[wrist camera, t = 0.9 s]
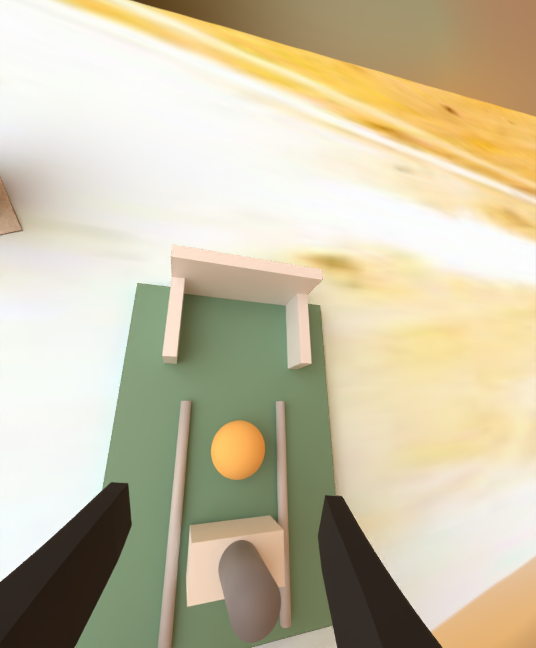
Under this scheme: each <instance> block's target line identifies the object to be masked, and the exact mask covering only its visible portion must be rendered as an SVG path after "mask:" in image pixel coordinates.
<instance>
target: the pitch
mask: <svg viewBox="0 0 536 648" xmlns="http://www.w3.org/2000/svg"><path fill="white" fill-rule="evenodd" d="M170 288H171V287H166V286H158V285H149V284H141V283H137V289H136V294H135V300H134V306H133V312H132V318H131V324H130V330H129V336H128V342H127V347H126V353H125V359H124V365H123V371H122V377H121V383H120V389H119V395H118V400H117V406H116V412H115V418H114V424H113V430H112V436H111V442H110V448H109V453H108V459H107V465H106V471H105V477H104V483H103V489H104V488H105V487H106V486H107V485H108V484H110V483H111V482H118V483H128V485H129V497H130V509H131V521H132V526H131V529H130V532H129V534H128V537H127V540H126V542H125V545H124V547H123V550H122V552H121V555H120V557H119V560H118V562H117V564H116V566H115V568H114V570H113V572H112V574H111V576H110V578H109V580H108V582H107V584H106V586H105V588H104V590H103V592H102V594H101V596H100V598H99V600H98V602H97V604H96V606H95V608H94V610H93V612H92V614H91V616H90V618H89V620H88V622H87V624H86V626H85V628H84V630H83V632H82V634H81V636H80V638H79V640H78V642H77V644H76V648H251V647H255V646H258V645H262V644H266V643H269V642H273V641H277V640H280V639H284V638H288V637H292V636H295V635H299V634H303V633H306V632H310V631H314V630H317V629H321V628H325V627H329V626H332V625H333V624H332V619H331V614H330V609H329V605H328V600H327V595H326V590H325V585H324V580H323V575H322V569H321V560H320V552H319V543H318V532H319V526H320V521H321V515H322V510H323V504H324V499H325V495H330V496H335V483H334V471H333V459H332V446H331V434H330V422H329V409H328V397H327V384H326V372H325V360H324V347H323V335H322V322H321V310H320V305H312V304H308V315H309V331H310V346H311V362H312V364H309V365H307V366H304V367H302V368H299V369H288V359H287V330H286V306H284V305H276V304H267V303H259V302H250V301H242V300H233V299H225V298H216V297H208V296H199V295H191V294H184V301H183V310H182V320H181V330H180V339H179V349H178V359H177V364H167V363H164V361H163V357H162V353H163V345H164V337H165V329H166V321H167V313H168V304H169V296H170ZM237 420H242V421H247V422H249V423H251V424H253V425H254V426H255V427H257V428H258V430H259V431H260V432H261V434H262V436H263V439H264V443H265V455H264V459H263V461H262V464H261V465H260V467H259V468H258V470H257V471H256V472H255V473H254V474H253V475H251V476H249V477H247V478H245V479H241V480H232V479H229V478H226V477H224V476H223V475H221V474H220V473H219V472H218V471H217V469H216V468H215V466H214V464H213V461H212V458H211V445H212V441H213V439H214V437H215V435H216V433H217V432H218V431H219V429H220V428H221V427H223V426H224V425H225V424H227V423H229V422H232V421H237ZM103 489H102V490H103ZM267 515H270V516H271V517H272V518H273V519H274V520H275V521H276V522H277V523H278V524H279V526H280V527H281V528H282V529H283V530H284V566H285V586H284V587H280V588H279V591H280V595H281V609H280V614H279V617H278V620H277V623H276V625H275V626H274V628H273V630H272V631H271V632H270V633H269V634H268V635H267V636H266V637H265V638H264V639H262V640H260V641H258V642H254V643H248V642H244V641H242V640H241V639H239V638H238V637H237V636H236V634H235V633H234V631H233V629H232V626H231V622H230V618H229V614H228V610H227V606H226V602H225V599H222V600H217V601H213V602H208V603H203V604H198V605H194V606H189V607H187V590H186V571H187V558H188V544H189V530H190V525H195V524H203V523H211V522H219V521H227V520H235V519H243V518H251V517H259V516H267Z"/></svg>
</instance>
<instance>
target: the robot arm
mask: <svg viewBox="0 0 536 648" xmlns="http://www.w3.org/2000/svg"><path fill="white" fill-rule="evenodd" d="M131 526H132V521H131V509H130V497H129V485H128V483H118V482H111V483H110V484H108V485H107V486H106V487H105V488H104V489H103V490H102V491H101V492H100V493H99V494H98V495H97V496H96V497H95V498H94V499H93V500H92V501H91V502H89V503H88V504H87V505H86V506H85V507H84V508H83V509H82V510H81V511H80V512H79V513H78V514H77V515H76V516H75V517H74V518H72V519H71V520H70V521H69V522H68V523H67V524H66V525H65V526H64V527H63V528H62V529H60V530H59V531H58V532H57V533H56V534H55V535H54V536H53V537H52V538H51V539H49V540H48V541H47V542H46V543H45V544H44V545H43V546H42V547H41V548H39V549H38V550H37V551H36V552H35V553H34V554H33V555H31V556H30V557H29V558H28V559H27V560H26V561H24V562H23V563H22V564H21V565H20V566H19V567H17V568H16V569H15V570H14V571H13V572H12V573H10V574H9V575H8V576H7V577H6V578H5V579H3V580H2V581H1V582H0V648H75V646H76V644H77V642H78V640H79V638H80V636H81V634H82V632H83V630H84V628H85V626H86V624H87V622H88V620H89V618H90V616H91V614H92V612H93V610H94V608H95V606H96V604H97V602H98V600H99V598H100V596H101V594H102V592H103V590H104V588H105V586H106V584H107V582H108V580H109V578H110V576H111V574H112V572H113V570H114V568H115V566H116V564H117V562H118V560H119V557H120V555H121V552H122V550H123V547H124V545H125V542H126V540H127V537H128V534H129V532H130V529H131ZM318 543H319V552H320V560H321V569H322V575H323V580H324V585H325V590H326V595H327V600H328V605H329V609H330V614H331V619H332V624H333V629H334V633H335V638H336V643H337V648H442V646H441V645H440V644H439V643H438V641H437V640H436V638H435V637H434V636H433V635H432V633H431V632H430V631H429V629H428V628H427V627H426V625H425V624H424V623H423V621H422V620H421V619H420V617H419V616H418V614H417V613H416V612H415V610H414V609H413V608H412V606H411V605H410V603H409V602H408V601H407V599H406V598H405V596H404V595H403V593H402V592H401V590H400V589H399V588H398V586H397V585H396V583H395V582H394V580H393V579H392V577H391V576H390V574H389V573H388V571H387V570H386V568H385V567H384V565H383V564H382V562H381V560H380V559H379V557H378V556H377V554H376V553H375V551H374V549H373V548H372V546H371V545H370V543H369V541H368V540H367V538H366V537H365V535H364V533H363V531H362V530H361V528H360V526H359V525H358V523H357V521H356V520H355V518H354V516H353V514H352V513H351V511H350V509H349V507H348V506H347V504H346V502H345V500H344V499H343V497H342V496H330V495H325V499H324V504H323V510H322V515H321V521H320V526H319V532H318Z"/></svg>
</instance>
